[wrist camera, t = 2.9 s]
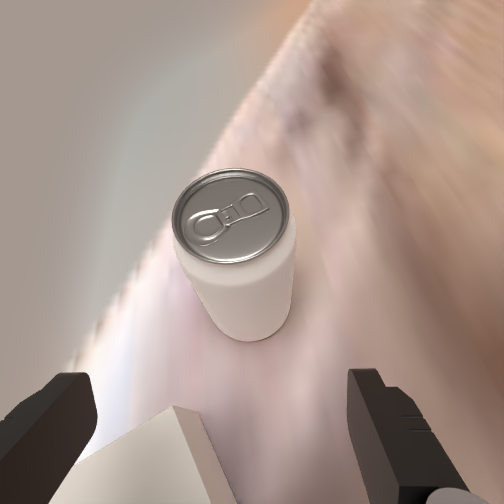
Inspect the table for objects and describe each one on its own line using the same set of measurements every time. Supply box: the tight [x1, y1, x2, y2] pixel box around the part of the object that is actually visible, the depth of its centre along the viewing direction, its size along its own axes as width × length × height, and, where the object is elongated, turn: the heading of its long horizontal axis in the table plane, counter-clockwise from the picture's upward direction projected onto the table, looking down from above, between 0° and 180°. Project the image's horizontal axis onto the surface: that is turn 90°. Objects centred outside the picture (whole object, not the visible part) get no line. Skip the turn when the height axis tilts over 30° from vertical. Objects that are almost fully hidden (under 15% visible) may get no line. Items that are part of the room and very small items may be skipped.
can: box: [172, 168, 296, 342], centre depth 20 cm, size 6×6×12 cm
